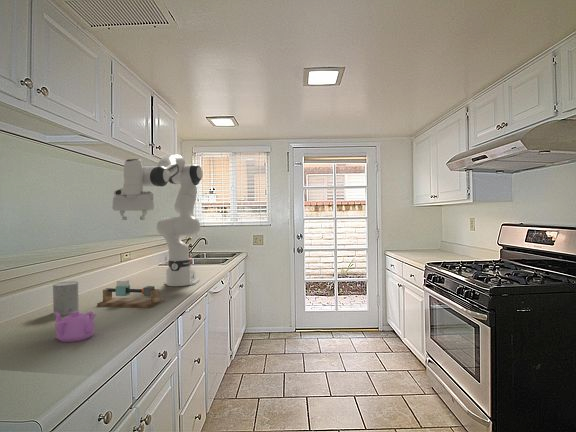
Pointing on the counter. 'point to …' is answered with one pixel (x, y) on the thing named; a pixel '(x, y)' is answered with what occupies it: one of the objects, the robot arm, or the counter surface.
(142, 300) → the rod slider board
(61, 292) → the grey upright cylinder
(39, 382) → the counter surface
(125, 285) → the sleeve
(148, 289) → the rail
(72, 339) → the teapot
